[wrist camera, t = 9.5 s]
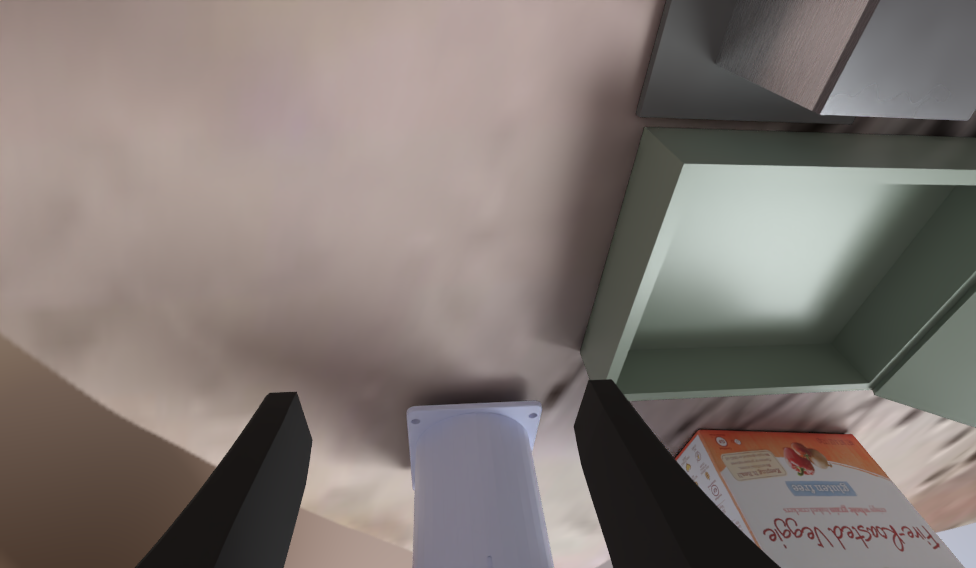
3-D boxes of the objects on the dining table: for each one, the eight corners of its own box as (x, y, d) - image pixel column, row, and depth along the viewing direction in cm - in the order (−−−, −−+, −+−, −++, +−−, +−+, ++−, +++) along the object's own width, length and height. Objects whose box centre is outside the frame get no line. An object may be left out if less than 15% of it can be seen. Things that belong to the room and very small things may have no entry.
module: (827, 70, 16) (967, 120, 12) (714, 64, 16) (820, 114, 11) (908, -89, 14) (1127, -96, 9) (773, -103, 13) (942, -118, 9)
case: (1008, 338, 29) (1260, 516, 20) (579, 352, 25) (658, 575, 17) (1228, 145, 21) (1808, 303, 12) (644, 126, 17) (863, 330, 9)
